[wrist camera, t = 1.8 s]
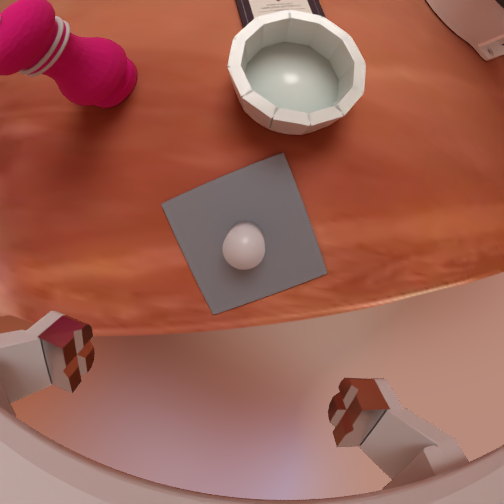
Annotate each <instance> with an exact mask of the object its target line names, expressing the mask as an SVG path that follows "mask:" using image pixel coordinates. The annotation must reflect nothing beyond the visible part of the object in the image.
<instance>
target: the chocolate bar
mask: <svg viewBox="0 0 504 504" xmlns="http://www.w3.org/2000/svg"><path fill="white" fill-rule="evenodd" d="M236 3H237V7H238V10H239V14H240V17H241V21H242V25H243V28H244V27H246V26H247V25H248V24H249V23H250V22H251V21H252V20H253V19H255V18H257V17H258V16H262V15H266V14H270V13H274V12H279V11H283V10H288V11H289V10H295V11H300V12H305V13H310V14H315V15H319V16H322V17H325V15H324V12H323V10H322V8H321V5H320V3H319V0H236ZM325 18H326V17H325Z"/></svg>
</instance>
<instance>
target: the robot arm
mask: <svg viewBox="0 0 504 504" xmlns="http://www.w3.org/2000/svg"><path fill="white" fill-rule="evenodd" d="M426 1H427V2H428V4H429V5H430V6H431V8H432V9H433V10H434V12H435V13H436V14H437V15H438V16H439V17H440V19H441V20H442V21H443V22H444V23H445V24H446V25H447V26H448V27H449V28H450V29H451V30H452V31H454V32H455V33H456V34H457V35H458V36H460V37H461V38H462V39H464V40H465V41H466V42H468V43H469V44H470V45H471V46H472V47H473V48H474V49H475V50H476V51H477V52H478V54H479V55H480V56H481V57H482V58H483V59H484V60H486V61H489V60H491V59H494V58H496V57H499V56H502V55H504V0H426ZM92 337H93V333H92V327H91V326H90V325H89V324H86V323H84V322H81V321H79V320H77V319H74V318H72V317H69V316H67V315H64V314H62V313H60V312H57V311H51V312H49V313H48V314H47V315H45V316H44V317H43V318H42V319H40V320H39V321H38V322H36V323H35V324H34V325H33V326H31V327H30V328H29V329H28V330H26V331H24V330H18V331H13V332H7V333H2V334H0V504H504V445H502V446H501V447H499V448H497V449H495V450H493V451H491V452H489V453H487V454H485V455H483V456H481V457H479V458H477V459H475V460H473V461H470V462H469V461H468V459H467V458H466V456H465V455H464V453H463V451H462V449H461V448H460V446H459V445H458V443H457V441H456V440H455V438H453V437H451V436H450V435H448V434H446V433H445V432H443V431H442V430H440V429H438V428H437V427H435V426H434V425H432V424H430V423H429V422H427V421H426V420H424V419H422V418H421V417H419V416H418V415H416V414H415V413H413V412H411V411H410V410H408V409H403V407H402V406H401V404H400V402H399V400H398V399H397V397H396V395H395V393H394V392H393V390H392V388H391V387H390V385H389V383H388V382H387V380H385V379H384V378H383V379H382V378H381V379H379V378H373V379H372V378H371V379H359V378H358V379H357V378H344V379H343V380H342V381H341V383H340V385H339V390H340V392H339V393H338V394H336V395H335V396H334V397H333V398H332V400H331V402H330V405H329V410H328V416H329V420H330V423H332V424H333V425H334V426H335V429H334V431H333V435H334V438H335V442H336V445H337V447H352V446H360V448H361V449H362V450H363V451H364V452H365V453H366V454H367V455H368V456H369V457H370V458H371V459H372V460H373V461H374V462H375V463H376V464H377V465H378V466H379V467H380V468H381V469H382V470H383V471H384V472H385V473H386V474H387V475H388V476H389V477H390V478H391V479H392V481H391V482H390V483H388V484H387V485H386V486H385V487H384V488H383V489H382V490H380V491H376V492H370V493H365V494H359V495H352V496H345V497H336V498H325V499H310V500H261V499H246V498H235V497H226V496H219V495H212V494H206V493H200V492H194V491H190V490H184V489H180V488H176V487H171V486H167V485H163V484H160V483H155V482H152V481H149V480H146V479H142V478H139V477H136V476H133V475H130V474H127V473H124V472H121V471H119V470H116V469H113V468H110V467H108V466H106V465H103V464H101V463H98V462H96V461H93V460H91V459H89V458H87V457H85V456H82V455H81V454H78V453H76V452H74V451H72V450H70V449H68V448H66V447H64V446H62V445H61V444H59V443H57V442H55V441H53V440H51V439H50V438H48V437H46V436H45V435H43V434H41V433H39V432H38V431H36V430H35V429H33V428H31V427H30V426H28V425H27V424H25V423H24V422H22V421H21V420H19V419H18V418H16V414H15V412H14V410H13V408H12V406H11V404H10V403H12V402H15V401H17V400H19V399H22V398H24V397H26V396H28V395H30V394H33V393H35V392H37V391H39V390H42V389H44V388H46V387H48V386H51V384H53V385H55V386H57V387H59V388H62V389H64V390H66V391H68V392H70V393H73V392H74V390H75V389H76V388H77V386H78V385H79V384H80V382H81V375H83V374H86V373H88V371H89V370H90V368H91V367H92V364H93V361H94V347H93V345H92V343H91V342H90V339H91V338H92Z"/></svg>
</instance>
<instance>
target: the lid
mask: <svg viewBox="0 0 504 504" xmlns="http://www.w3.org/2000/svg"><path fill="white" fill-rule="evenodd" d="M161 205H162V207H163V209H164V212H165V214H166V216H167V219H168V221H169V223H170V225H171V228H172V230H173V232H174V234H175V237H176V239H177V241H178V243H179V245H180V248H181V250H182V252H183V254H184V256H185V258H186V260H187V263H188V265H189V267H190V269H191V271H192V273H193V275H194V277H195V279H196V281H197V283H198V285H199V287H200V289H201V291H202V293H203V295H204V297H205V299H206V301H207V303H208V305H209V307H210V309H211V311H212V313H213V315H214V314H217V313H220V312H223V311H226V310H229V309H232V308H235V307H238V306H241V305H244V304H246V303H249V302H252V301H255V300H258V299H261V298H263V297H266V296H269V295H272V294H274V293H277V292H280V291H283V290H285V289H288V288H291V287H293V286H296V285H299V284H301V283H304V282H307V281H309V280H312V279H314V278H317V277H320V276H322V275H325V274H327V270H326V267H325V264H324V261H323V258H322V255H321V252H320V249H319V246H318V243H317V240H316V237H315V234H314V232H313V229H312V226H311V223H310V220H309V217H308V215H307V212H306V209H305V206H304V204H303V201H302V198H301V196H300V193H299V190H298V188H297V185H296V183H295V180H294V177H293V175H292V172H291V170H290V167H289V165H288V162H287V160H286V157H285V155H284V152H283V153H280V154H278V155H275V156H272V157H270V158H267V159H264V160H262V161H259V162H257V163H254V164H251V165H249V166H246V167H244V168H241V169H239V170H237V171H234V172H232V173H229V174H227V175H224V176H222V177H220V178H217V179H215V180H213V181H210V182H208V183H206V184H204V185H201V186H199V187H197V188H195V189H192V190H190V191H188V192H186V193H184V194H181V195H179V196H177V197H175V198H173V199H171V200H169V201H167V202H165V203H163V204H161Z"/></svg>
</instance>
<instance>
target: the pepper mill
mask: <svg viewBox="0 0 504 504" xmlns="http://www.w3.org/2000/svg"><path fill="white" fill-rule="evenodd" d="M18 71H19V72H20V73H21V74H26V75H28V76H30V77H34V76H38V75H40V74H44V75H47V76H49V77H51V78H53V79H54V80H55V82H56V83H57V85H58V87H59V89H60V91H61V92H62V94H63V95H64V96H65V97H66V98H67V99H68V100H70V101H71V102H73V103H75V104H78V105H81V106H90V105H95V106H98V107H101V108H109V107H113V106H116V105H118V104H119V103H121V102H122V101H123V100H125V99H126V98H127V96H128V95H129V94H130V93H131V92H132V90H133V88H134V86H135V83H136V79H137V70H136V67H135V65H134V63H133V62H132V61H130V60H129V59H128V58H127V57H126V53H125V52H124V50H123V48H122V47H121V46H120V45H118V44H117V43H115V42H113V41H111V40H109V39H105V38H99V37H94V38H86V37H79V36H76V35H74V34H72V33H70V26H69V24H68V23H67V22H66V21H63V20H62V19H61V18H60V17H57V16H55V11H54V9H53V7H52V5H51V4H50V3H49V2H48V1H46V0H18V1H17V2H15V3H13V4H12V5H10V6H9V7H8V8H6V9H5V10H4V11H3V12H2V13H1V14H0V75H11V74H13V73H16V72H18Z"/></svg>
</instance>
